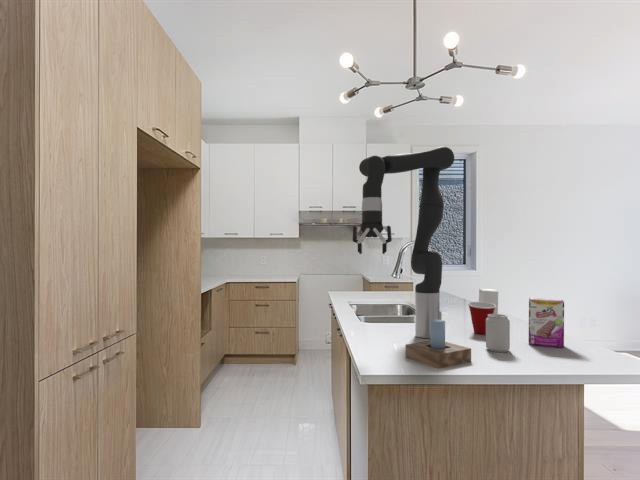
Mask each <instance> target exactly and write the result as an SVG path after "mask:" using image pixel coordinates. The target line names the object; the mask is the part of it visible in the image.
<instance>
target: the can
mask: <svg viewBox="0 0 640 480" xmlns="http://www.w3.org/2000/svg"><path fill="white" fill-rule="evenodd" d="M510 325H511V324H510V319H509V318H508V315H506V314H499V313H498V314H489V315H488V317H487V318H486V335H485V347H486V349H488V351H490V352H492V353H507V352H508V351H509V350H511V349H510V347H511V342H510V339H511V338H510V337H511V335H510V333H511V331H510V329H511V327H510Z"/></svg>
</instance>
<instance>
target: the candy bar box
mask: <svg viewBox="0 0 640 480" xmlns="http://www.w3.org/2000/svg"><path fill="white" fill-rule="evenodd" d="M528 345H529V346H539V347H551V348H559V349H560V348H562V349H563V348H564V347H565V301H564V300H563V299H555V298H538V297H528Z"/></svg>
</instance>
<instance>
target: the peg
mask: <svg viewBox="0 0 640 480" xmlns="http://www.w3.org/2000/svg"><path fill="white" fill-rule="evenodd" d="M430 341H431V348H433V349H437V350H439V349H445V342H446V320H443V319H442V320H431V338H430Z"/></svg>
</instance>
